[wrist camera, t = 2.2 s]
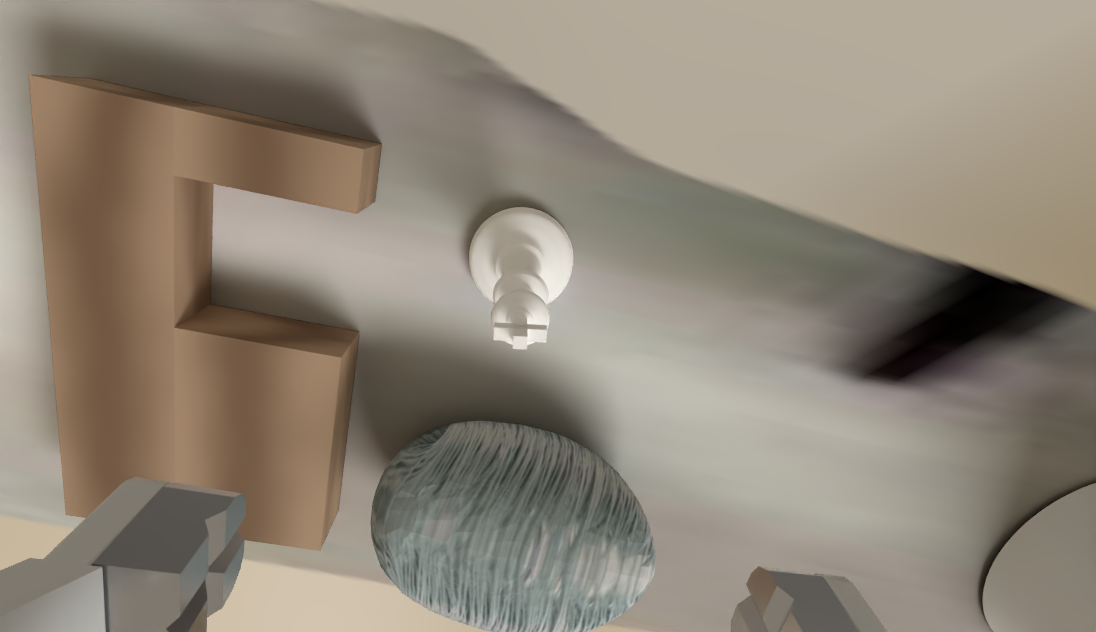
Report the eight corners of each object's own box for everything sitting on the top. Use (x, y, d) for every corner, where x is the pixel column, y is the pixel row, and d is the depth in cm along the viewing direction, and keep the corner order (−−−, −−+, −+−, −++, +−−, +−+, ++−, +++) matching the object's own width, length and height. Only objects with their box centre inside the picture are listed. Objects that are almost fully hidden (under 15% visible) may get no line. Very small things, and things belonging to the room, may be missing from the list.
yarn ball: (328, 562, 29) (355, 676, 20) (390, 381, 30) (442, 409, 21) (556, 594, 34) (658, 693, 25) (600, 440, 36) (711, 482, 27)
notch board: (381, 144, 25) (363, 149, 22) (338, 510, 31) (320, 550, 29) (88, 78, 23) (28, 74, 20) (108, 476, 30) (65, 515, 27)
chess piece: (469, 203, 26) (439, 260, 16) (577, 210, 26) (607, 270, 17) (468, 305, 27) (439, 409, 18) (568, 310, 28) (591, 415, 18)
